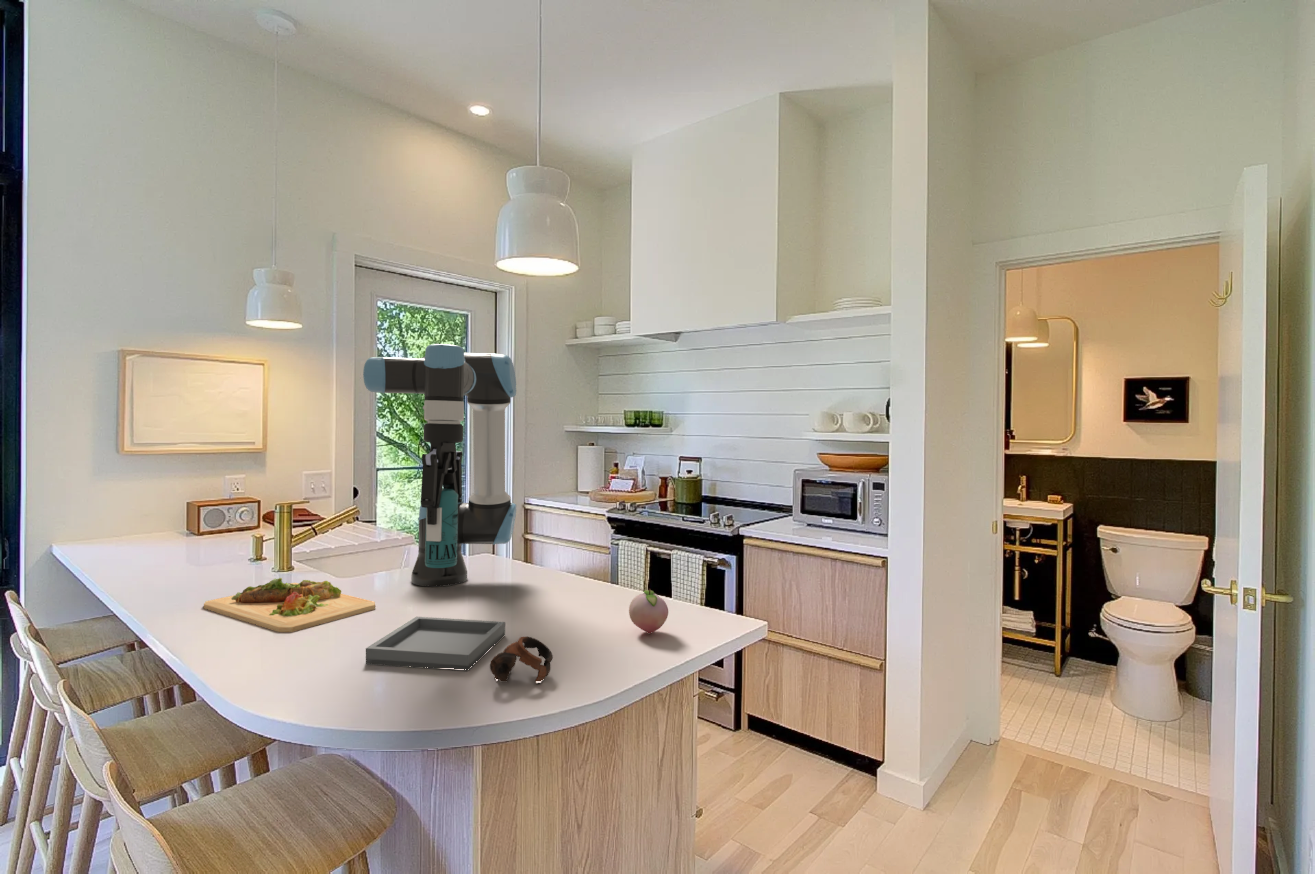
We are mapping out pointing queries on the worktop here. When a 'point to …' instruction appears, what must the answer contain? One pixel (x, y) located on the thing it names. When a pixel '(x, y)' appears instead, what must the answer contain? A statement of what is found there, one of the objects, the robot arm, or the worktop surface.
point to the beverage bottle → (445, 531)
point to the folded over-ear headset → (522, 658)
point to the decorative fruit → (648, 611)
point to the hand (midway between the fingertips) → (441, 537)
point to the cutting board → (290, 605)
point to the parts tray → (436, 643)
